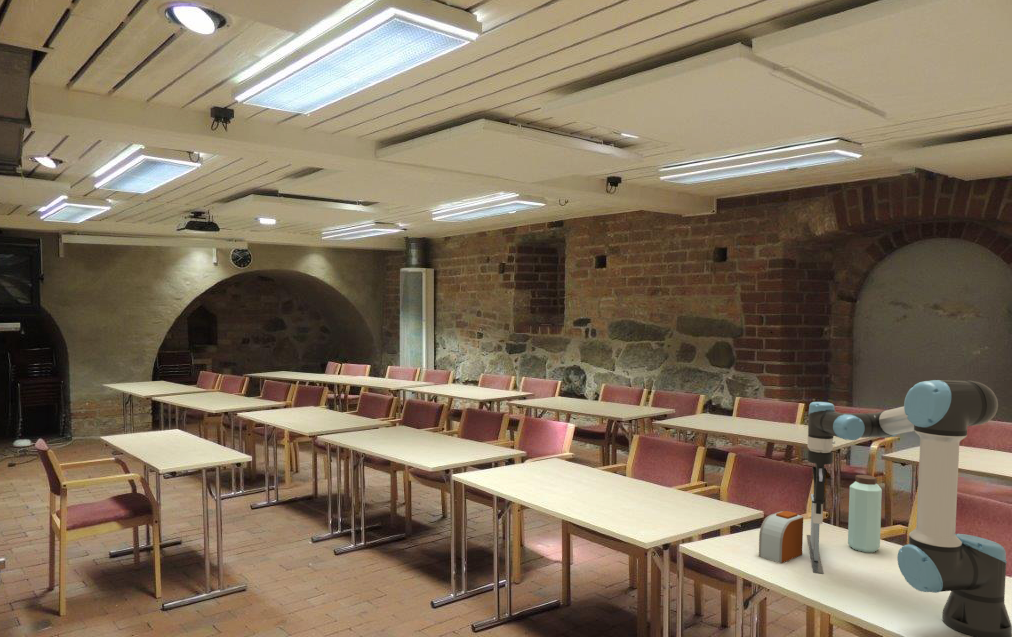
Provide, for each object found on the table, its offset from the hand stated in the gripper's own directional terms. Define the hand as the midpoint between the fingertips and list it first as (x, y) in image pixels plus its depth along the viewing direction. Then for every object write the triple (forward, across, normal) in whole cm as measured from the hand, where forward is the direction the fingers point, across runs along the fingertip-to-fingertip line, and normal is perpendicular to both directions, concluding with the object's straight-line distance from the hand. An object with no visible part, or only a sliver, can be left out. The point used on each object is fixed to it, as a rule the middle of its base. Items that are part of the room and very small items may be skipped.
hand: (817, 522), depth 226 cm
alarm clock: (+14, +5, +10) cm, 18 cm away
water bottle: (+14, +24, -17) cm, 32 cm away
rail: (+14, +11, 0) cm, 18 cm away
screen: (+14, +13, 0) cm, 19 cm away
